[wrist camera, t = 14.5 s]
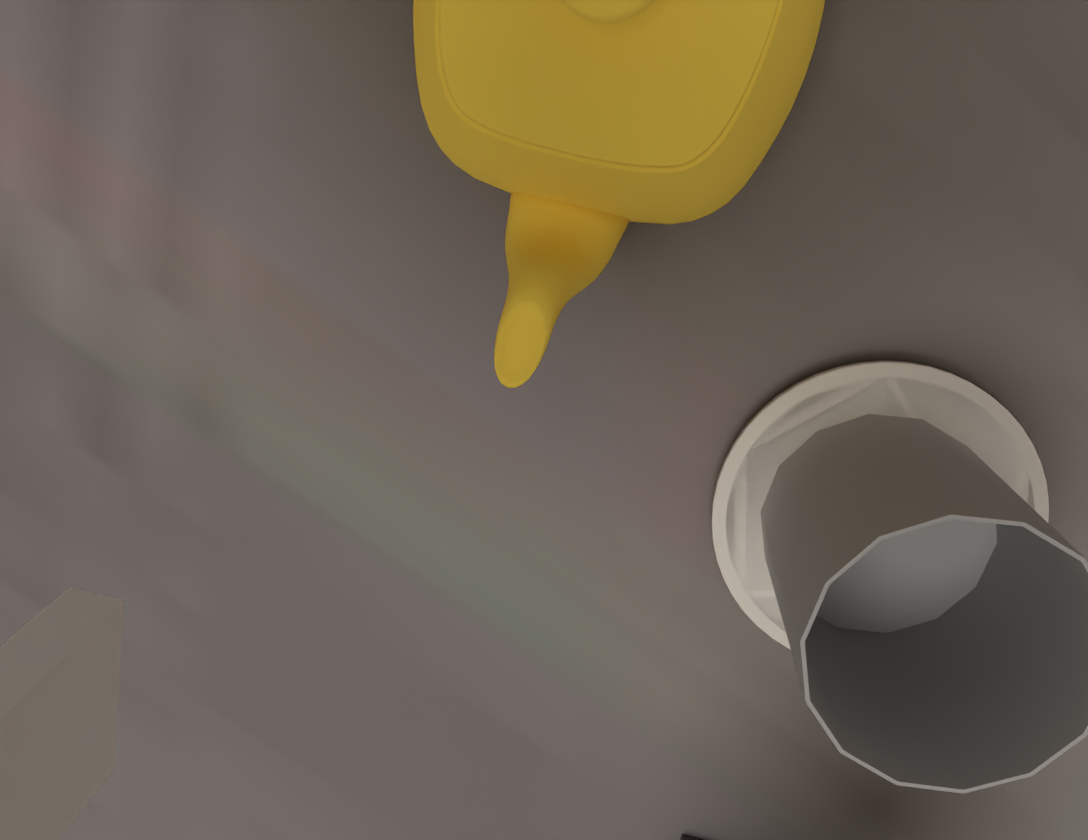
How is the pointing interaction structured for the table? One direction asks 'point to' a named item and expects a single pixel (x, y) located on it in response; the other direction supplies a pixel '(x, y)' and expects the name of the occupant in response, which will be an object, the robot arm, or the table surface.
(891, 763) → the cup
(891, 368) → the dish
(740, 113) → the teapot
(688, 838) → the balance
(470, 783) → the table surface
